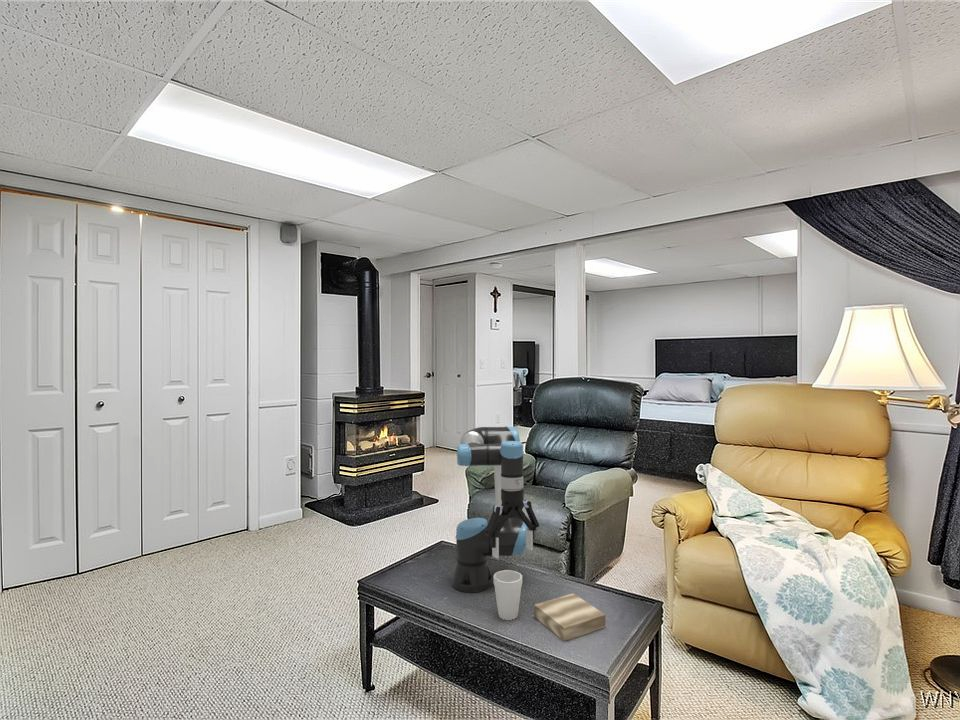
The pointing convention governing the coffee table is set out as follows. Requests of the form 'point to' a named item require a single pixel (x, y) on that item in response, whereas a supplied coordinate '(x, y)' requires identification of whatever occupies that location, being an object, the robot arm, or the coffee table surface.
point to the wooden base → (569, 616)
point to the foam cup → (508, 593)
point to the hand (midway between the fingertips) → (512, 553)
